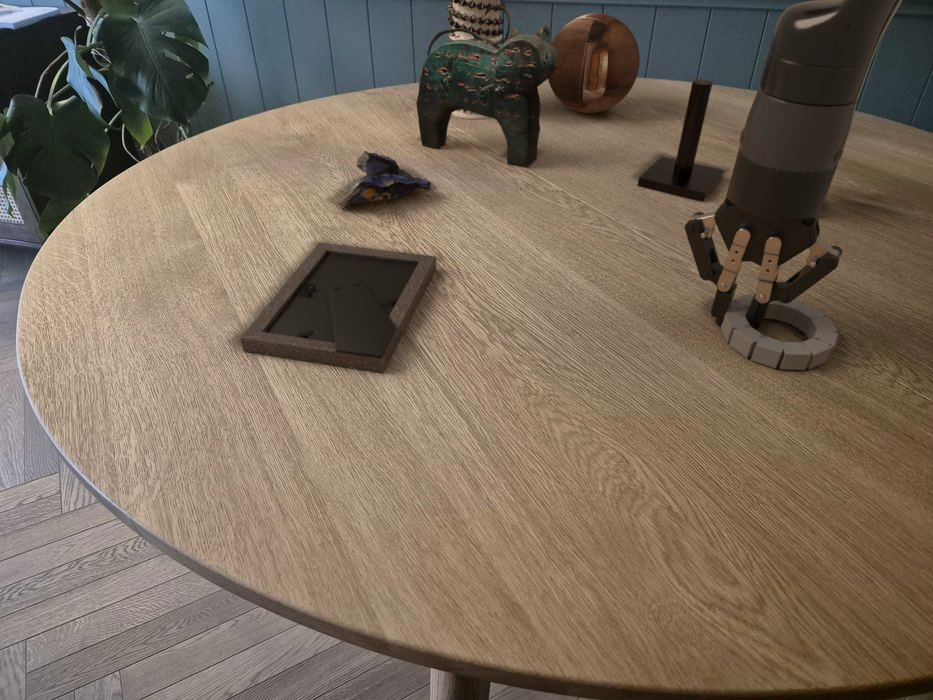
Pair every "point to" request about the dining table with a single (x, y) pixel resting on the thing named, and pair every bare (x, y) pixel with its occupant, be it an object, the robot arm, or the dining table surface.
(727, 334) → the segmented ring
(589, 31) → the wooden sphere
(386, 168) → the snack package
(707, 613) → the dining table surface
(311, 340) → the picture frame
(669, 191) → the post
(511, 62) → the ceramic cat
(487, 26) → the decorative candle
